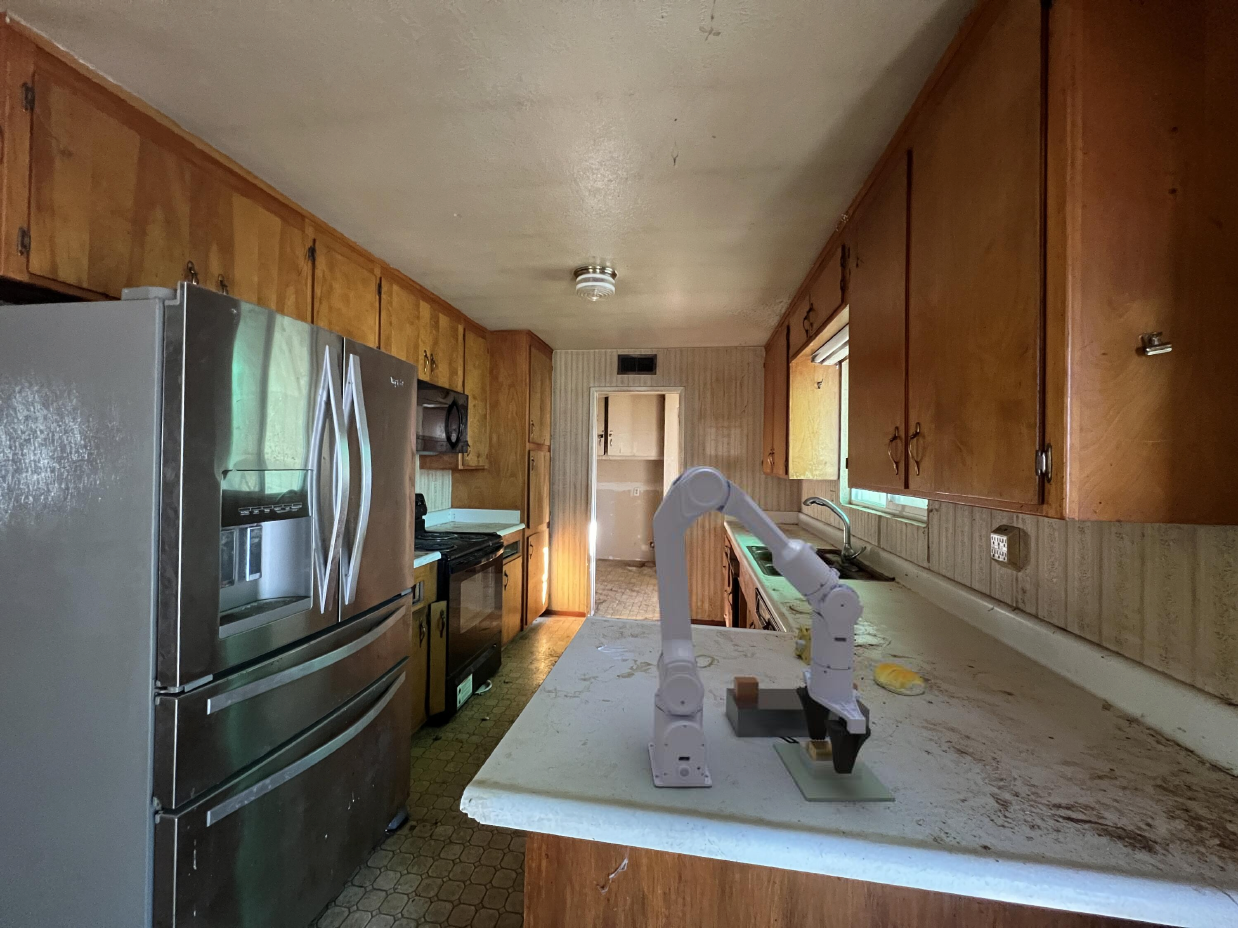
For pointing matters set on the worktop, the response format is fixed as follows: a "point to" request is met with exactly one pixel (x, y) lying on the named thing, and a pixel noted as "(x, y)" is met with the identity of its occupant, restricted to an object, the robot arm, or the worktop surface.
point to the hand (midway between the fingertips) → (829, 754)
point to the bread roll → (898, 679)
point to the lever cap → (824, 761)
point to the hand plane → (770, 710)
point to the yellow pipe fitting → (804, 645)
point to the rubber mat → (831, 781)
